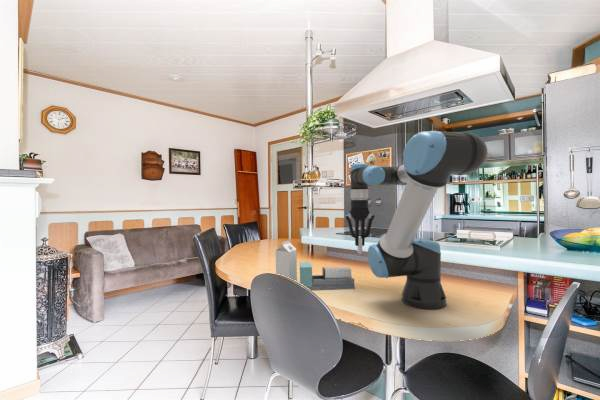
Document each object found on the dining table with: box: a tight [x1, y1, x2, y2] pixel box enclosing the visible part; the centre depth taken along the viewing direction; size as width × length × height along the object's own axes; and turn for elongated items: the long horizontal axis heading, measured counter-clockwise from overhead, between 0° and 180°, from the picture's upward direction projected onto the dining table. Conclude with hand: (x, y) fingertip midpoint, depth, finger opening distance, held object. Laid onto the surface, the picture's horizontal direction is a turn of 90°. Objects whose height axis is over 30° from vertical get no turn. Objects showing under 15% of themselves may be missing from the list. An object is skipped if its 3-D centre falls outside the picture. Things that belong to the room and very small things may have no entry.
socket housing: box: [299, 261, 313, 287], centre depth 130 cm, size 9×5×8 cm, turn 1°
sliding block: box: [321, 266, 352, 279], centre depth 130 cm, size 4×12×6 cm, turn 91°
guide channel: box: [307, 274, 356, 291], centre depth 130 cm, size 9×23×4 cm, turn 91°
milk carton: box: [275, 240, 298, 282], centre depth 137 cm, size 7×7×19 cm
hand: (359, 253), depth 131 cm, fingers closed
